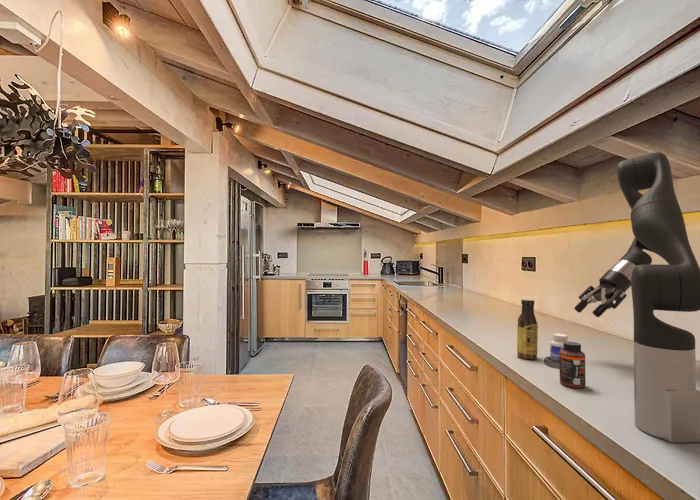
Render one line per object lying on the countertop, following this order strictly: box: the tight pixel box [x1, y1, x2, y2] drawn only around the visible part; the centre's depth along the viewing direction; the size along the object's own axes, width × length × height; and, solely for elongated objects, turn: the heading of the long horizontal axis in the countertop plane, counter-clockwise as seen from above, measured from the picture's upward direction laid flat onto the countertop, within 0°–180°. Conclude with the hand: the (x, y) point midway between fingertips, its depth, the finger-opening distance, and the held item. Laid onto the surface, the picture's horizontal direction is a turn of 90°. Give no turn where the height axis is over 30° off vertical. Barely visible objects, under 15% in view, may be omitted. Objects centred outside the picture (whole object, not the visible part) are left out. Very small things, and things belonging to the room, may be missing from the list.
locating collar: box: [543, 355, 560, 370], centre depth 112 cm, size 8×8×2 cm
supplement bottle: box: [559, 341, 587, 389], centre depth 95 cm, size 6×6×11 cm
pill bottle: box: [549, 333, 569, 363], centre depth 112 cm, size 5×5×10 cm
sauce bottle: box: [516, 298, 539, 360], centre depth 120 cm, size 6×6×20 cm
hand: (585, 312), depth 112 cm, fingers open, 8 cm apart
